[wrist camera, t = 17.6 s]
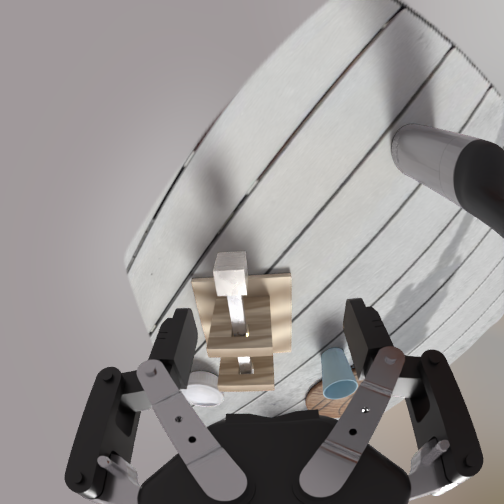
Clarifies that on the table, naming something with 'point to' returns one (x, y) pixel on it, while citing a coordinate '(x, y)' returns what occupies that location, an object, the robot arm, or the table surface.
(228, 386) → the bracket
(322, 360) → the cup
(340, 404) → the trivet
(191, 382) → the ramekin
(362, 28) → the table surface
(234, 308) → the shaft
